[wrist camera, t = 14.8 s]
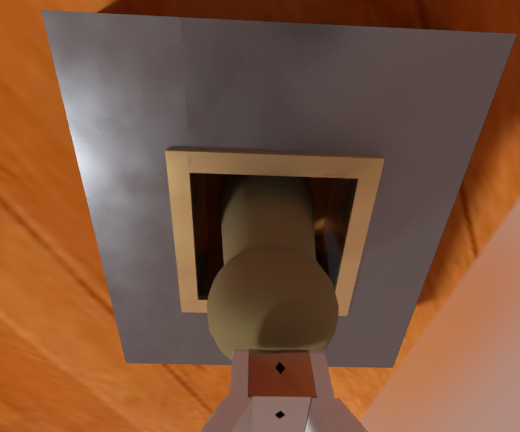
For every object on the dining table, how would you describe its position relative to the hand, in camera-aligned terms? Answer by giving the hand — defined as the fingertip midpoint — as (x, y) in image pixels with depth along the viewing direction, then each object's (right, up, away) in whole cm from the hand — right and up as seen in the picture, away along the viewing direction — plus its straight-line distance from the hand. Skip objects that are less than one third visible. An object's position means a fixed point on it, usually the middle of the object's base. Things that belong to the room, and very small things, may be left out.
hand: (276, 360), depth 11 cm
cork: (0, +6, +10) cm, 12 cm away
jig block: (0, +6, +10) cm, 12 cm away
